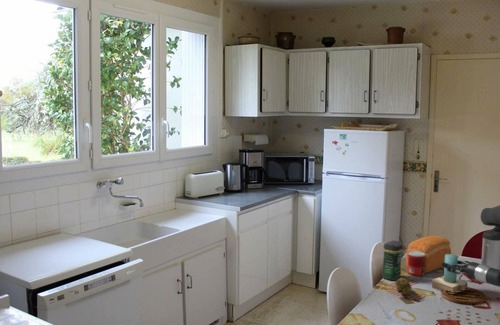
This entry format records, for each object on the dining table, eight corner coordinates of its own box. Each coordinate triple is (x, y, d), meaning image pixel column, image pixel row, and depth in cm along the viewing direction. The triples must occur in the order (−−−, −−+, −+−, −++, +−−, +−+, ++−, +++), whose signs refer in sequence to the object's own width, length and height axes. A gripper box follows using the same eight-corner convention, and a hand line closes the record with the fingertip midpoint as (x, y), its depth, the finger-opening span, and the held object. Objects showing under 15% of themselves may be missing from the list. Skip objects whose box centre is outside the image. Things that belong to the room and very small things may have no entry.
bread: (403, 267, 261) (404, 238, 259) (428, 258, 277) (430, 231, 276) (426, 274, 250) (428, 244, 248) (452, 264, 267) (453, 236, 265)
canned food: (425, 277, 246) (426, 256, 245) (408, 276, 247) (409, 254, 246) (422, 272, 253) (424, 251, 252) (406, 271, 255) (407, 250, 254)
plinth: (446, 283, 237) (446, 275, 237) (467, 290, 228) (467, 282, 228) (431, 287, 231) (432, 279, 231) (452, 294, 222) (453, 286, 222)
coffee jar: (395, 282, 238) (396, 245, 236) (379, 278, 243) (381, 242, 241) (402, 277, 246) (404, 241, 244) (388, 273, 251) (389, 238, 249)
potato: (417, 292, 225) (418, 275, 224) (406, 300, 215) (407, 283, 214) (400, 288, 230) (401, 271, 229) (388, 295, 220) (389, 278, 219)
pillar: (448, 278, 233) (449, 253, 232) (458, 281, 228) (460, 256, 227) (441, 280, 230) (442, 255, 229) (451, 283, 225) (453, 258, 224)
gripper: (489, 261, 220) (457, 252, 233) (471, 267, 212) (438, 257, 225) (488, 278, 221) (456, 268, 234) (470, 283, 213) (438, 273, 226)
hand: (447, 263), depth 230 cm, fingers open, 8 cm apart
